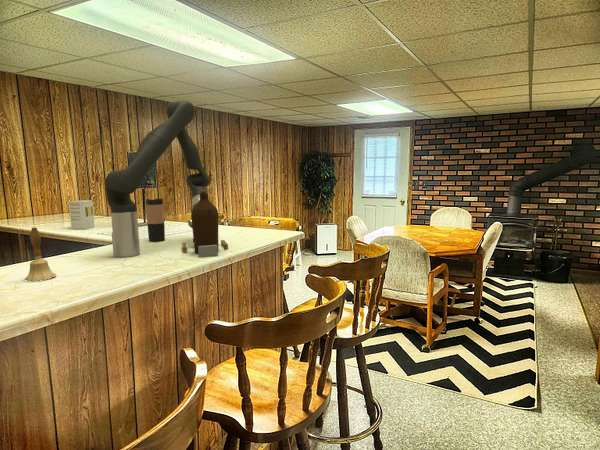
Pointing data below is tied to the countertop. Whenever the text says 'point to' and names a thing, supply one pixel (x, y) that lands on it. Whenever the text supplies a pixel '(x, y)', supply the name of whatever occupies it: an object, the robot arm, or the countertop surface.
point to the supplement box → (81, 214)
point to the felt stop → (208, 250)
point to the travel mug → (155, 220)
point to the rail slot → (221, 244)
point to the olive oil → (204, 222)
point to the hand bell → (38, 261)
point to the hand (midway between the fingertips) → (204, 238)
